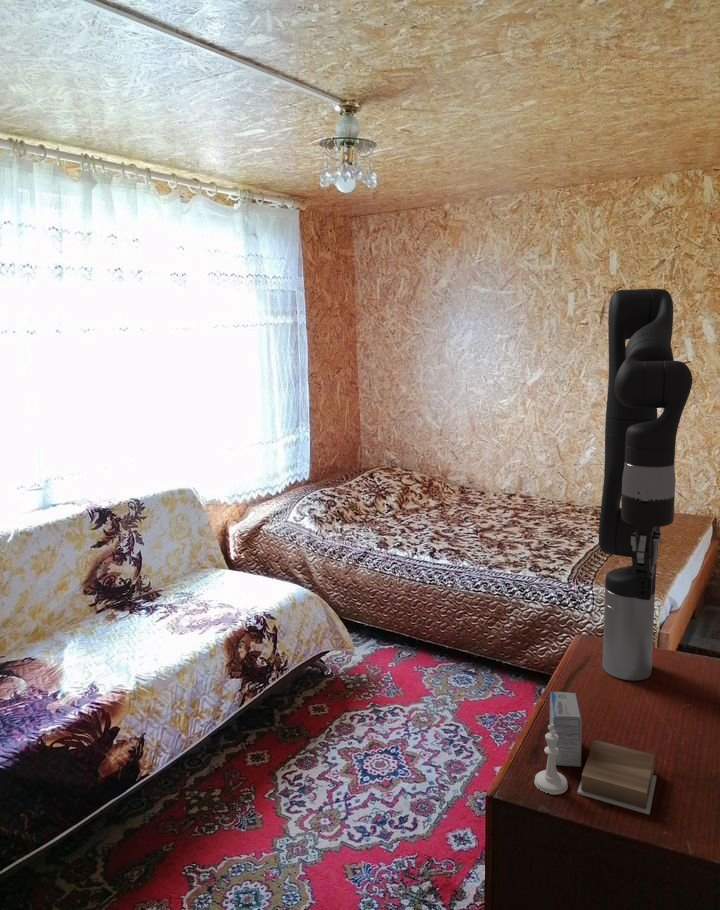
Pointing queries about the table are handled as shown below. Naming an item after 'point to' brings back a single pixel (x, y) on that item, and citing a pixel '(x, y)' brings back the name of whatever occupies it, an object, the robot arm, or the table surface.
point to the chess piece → (551, 768)
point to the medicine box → (566, 727)
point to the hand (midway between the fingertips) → (643, 597)
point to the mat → (622, 804)
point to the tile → (618, 773)
